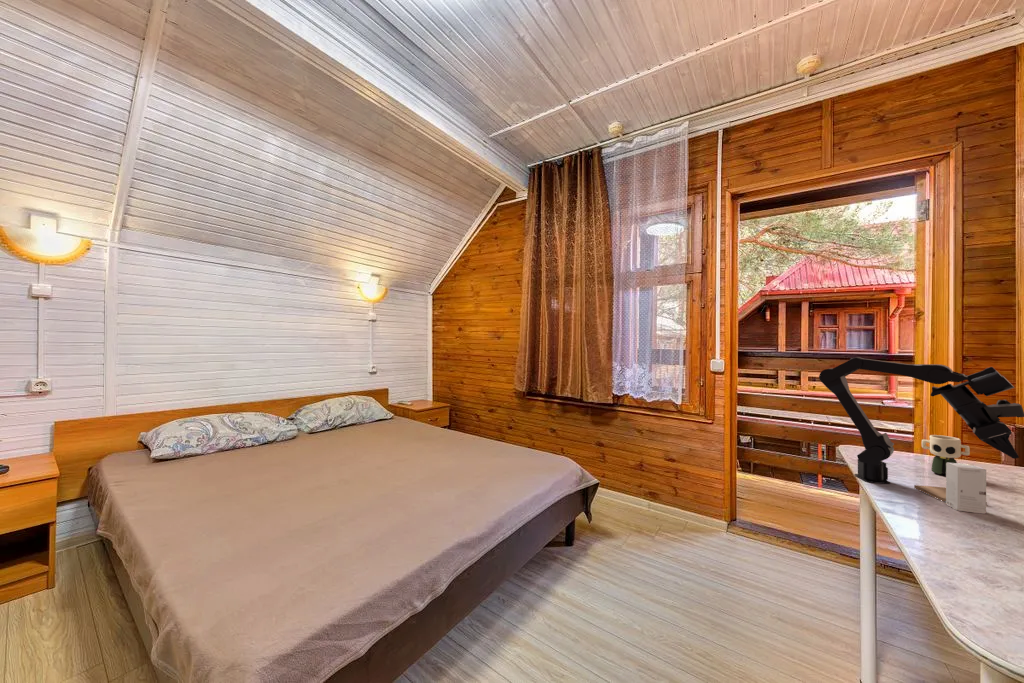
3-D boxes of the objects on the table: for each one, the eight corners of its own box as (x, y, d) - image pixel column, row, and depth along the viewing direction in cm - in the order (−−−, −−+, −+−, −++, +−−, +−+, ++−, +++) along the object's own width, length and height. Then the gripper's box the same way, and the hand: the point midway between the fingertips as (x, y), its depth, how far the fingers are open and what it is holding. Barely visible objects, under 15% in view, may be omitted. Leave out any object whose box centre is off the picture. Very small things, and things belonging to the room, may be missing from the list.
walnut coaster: (942, 501, 107) (942, 498, 107) (914, 488, 117) (914, 485, 117) (986, 505, 105) (986, 501, 105) (954, 491, 114) (954, 488, 114)
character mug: (920, 472, 131) (919, 435, 131) (923, 468, 135) (923, 432, 135) (968, 481, 122) (968, 442, 122) (970, 477, 127) (970, 439, 127)
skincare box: (957, 511, 101) (957, 466, 101) (944, 504, 105) (944, 461, 105) (988, 514, 99) (988, 469, 99) (973, 507, 103) (973, 464, 103)
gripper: (1010, 394, 97) (1067, 451, 91) (997, 387, 110) (1045, 436, 104) (954, 412, 104) (1004, 466, 98) (948, 403, 117) (991, 450, 111)
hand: (1012, 454), depth 103 cm, fingers open, 9 cm apart
